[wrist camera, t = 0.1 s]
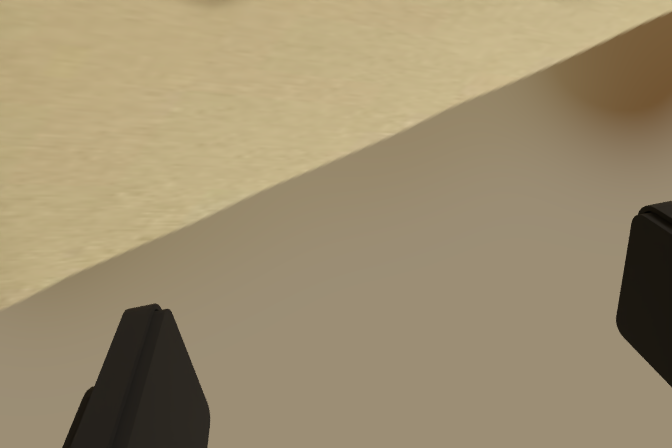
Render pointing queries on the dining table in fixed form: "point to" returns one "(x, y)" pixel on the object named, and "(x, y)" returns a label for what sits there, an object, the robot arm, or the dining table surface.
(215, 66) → the dining table surface
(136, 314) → the robot arm
